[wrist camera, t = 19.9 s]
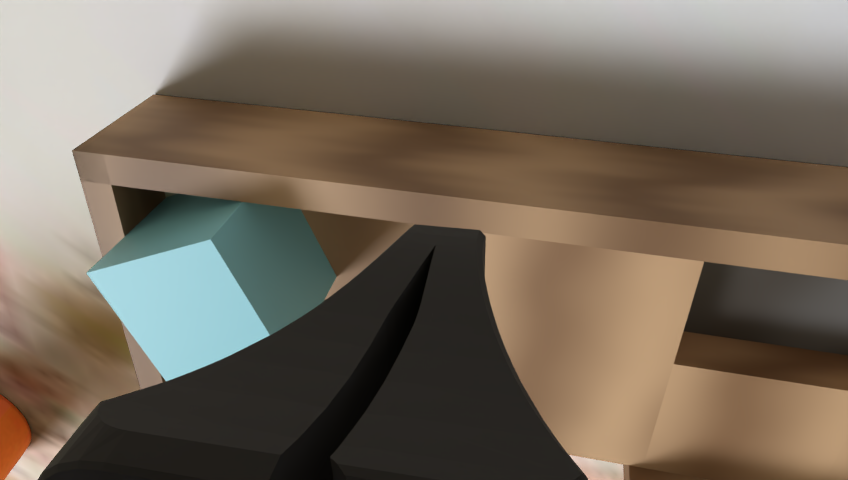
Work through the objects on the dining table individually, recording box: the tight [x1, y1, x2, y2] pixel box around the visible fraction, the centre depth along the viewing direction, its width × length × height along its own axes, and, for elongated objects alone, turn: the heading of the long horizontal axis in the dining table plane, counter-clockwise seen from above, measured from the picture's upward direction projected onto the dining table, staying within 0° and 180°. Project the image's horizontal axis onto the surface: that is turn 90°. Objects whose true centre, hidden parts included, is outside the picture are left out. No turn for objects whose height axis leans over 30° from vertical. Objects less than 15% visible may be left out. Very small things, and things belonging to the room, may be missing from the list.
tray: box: [72, 95, 848, 480], centre depth 23 cm, size 33×13×4 cm, turn 89°
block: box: [87, 194, 337, 381], centre depth 22 cm, size 4×4×4 cm
